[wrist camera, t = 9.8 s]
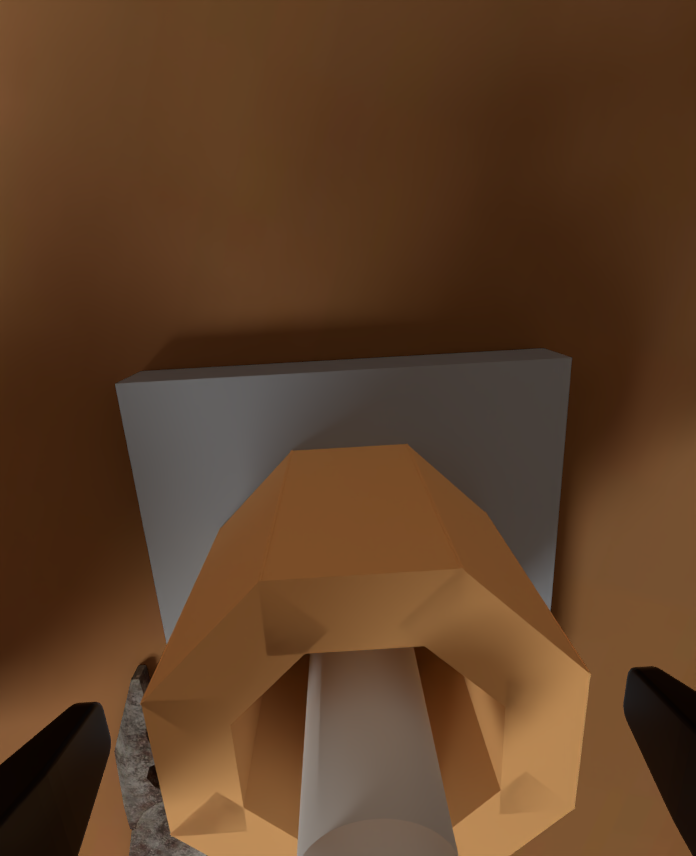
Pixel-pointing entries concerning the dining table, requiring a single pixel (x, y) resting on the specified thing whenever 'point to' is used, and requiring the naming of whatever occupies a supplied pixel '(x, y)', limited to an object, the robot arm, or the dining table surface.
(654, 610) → the dining table surface
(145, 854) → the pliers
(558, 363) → the pin base
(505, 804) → the collar
